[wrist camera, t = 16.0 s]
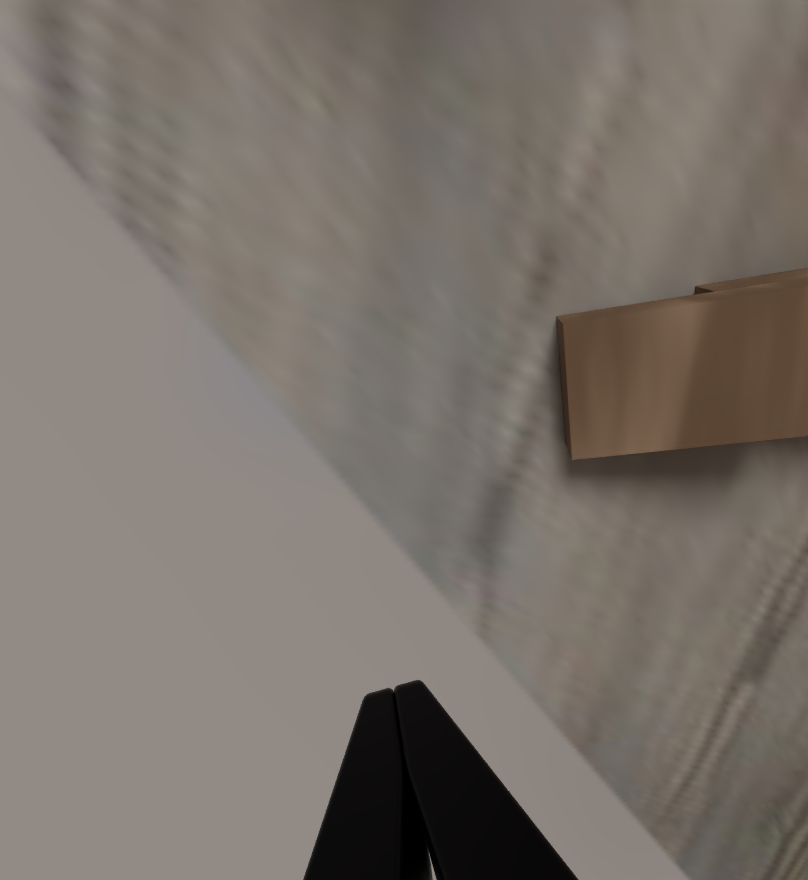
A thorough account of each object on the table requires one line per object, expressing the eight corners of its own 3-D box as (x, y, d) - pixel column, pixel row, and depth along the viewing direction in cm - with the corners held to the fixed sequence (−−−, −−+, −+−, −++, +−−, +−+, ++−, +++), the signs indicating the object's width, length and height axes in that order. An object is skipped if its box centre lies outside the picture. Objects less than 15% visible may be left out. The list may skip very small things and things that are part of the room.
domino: (556, 316, 18) (807, 277, 17) (565, 443, 20) (792, 418, 18) (563, 324, 17) (838, 281, 15) (572, 459, 19) (819, 434, 17)
